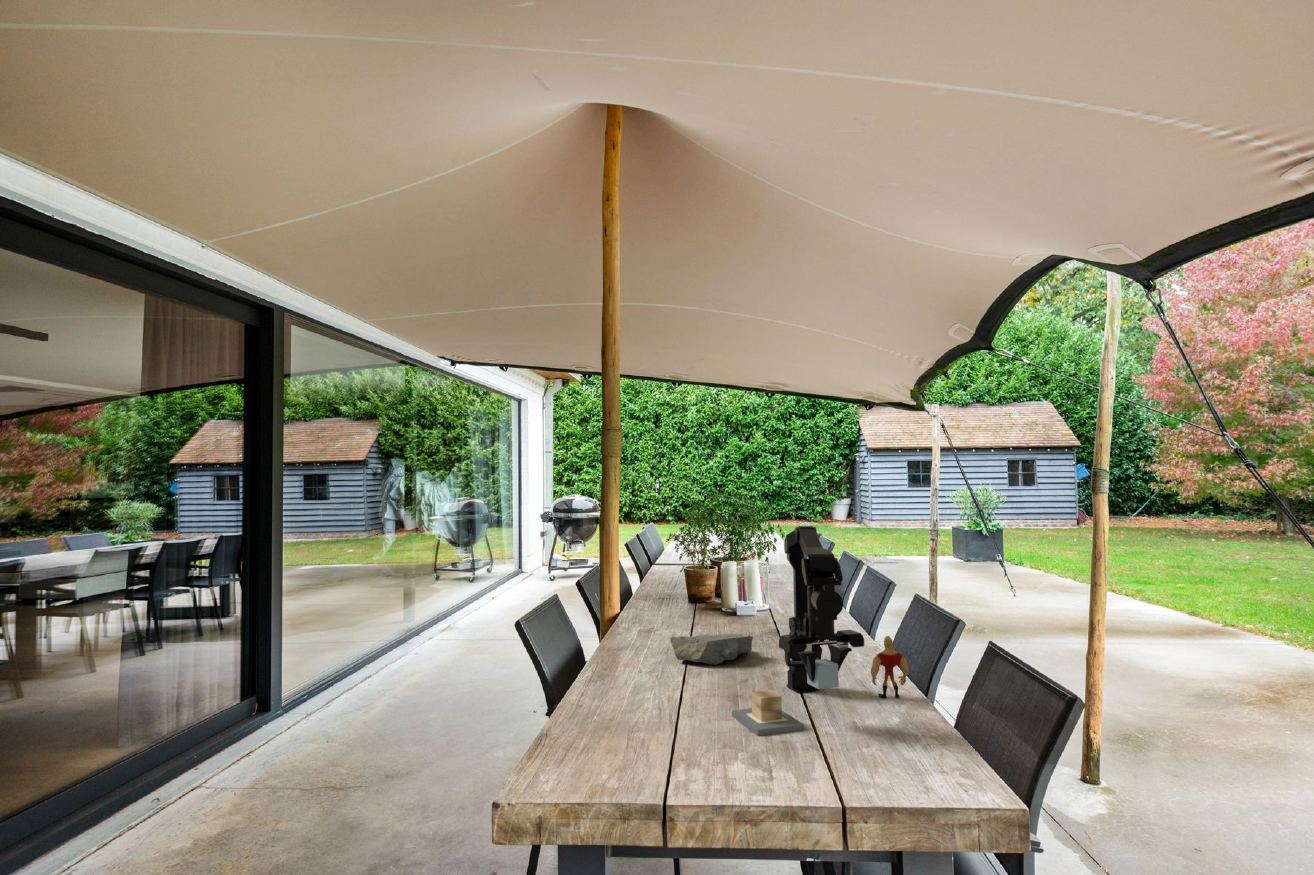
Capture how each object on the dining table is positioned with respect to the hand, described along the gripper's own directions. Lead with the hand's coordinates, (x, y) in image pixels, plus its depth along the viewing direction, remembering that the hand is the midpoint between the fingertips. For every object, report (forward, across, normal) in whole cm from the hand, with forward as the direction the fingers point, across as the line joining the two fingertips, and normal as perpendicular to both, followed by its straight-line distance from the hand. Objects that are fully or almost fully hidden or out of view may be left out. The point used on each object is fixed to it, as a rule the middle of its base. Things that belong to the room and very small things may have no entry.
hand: (822, 680), depth 164 cm
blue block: (+1, 0, 0) cm, 1 cm away
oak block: (+8, +11, -5) cm, 15 cm away
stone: (+10, 0, -66) cm, 67 cm away
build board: (+10, +11, -5) cm, 16 cm away
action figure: (+10, -26, -12) cm, 30 cm away
